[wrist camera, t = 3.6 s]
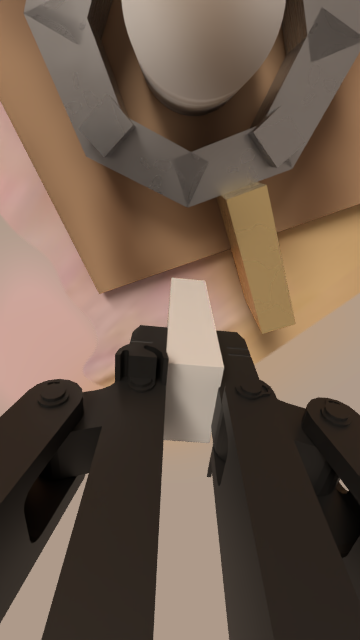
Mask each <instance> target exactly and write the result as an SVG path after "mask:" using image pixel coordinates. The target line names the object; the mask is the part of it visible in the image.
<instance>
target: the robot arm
mask: <svg viewBox="0 0 360 640" xmlns="http://www.w3.org/2000/svg"><path fill="white" fill-rule="evenodd" d="M211 432H212V437H213V447H212V453H211V457H210V462H209V467H208V474H207V477H211V474H212V476H213V485H214V495H215V504H216V514H217V525H218V534H219V543H220V553H221V562H222V573H223V583H224V592H225V602H226V612H227V621H228V631H229V640H360V415H359V414H358V413H357V412H355V411H354V410H353V409H352V408H350V407H349V406H347V405H345V404H343V403H341V402H339V401H337V400H333V399H329V398H316V399H312V400H311V401H310V402H309V403H308V404H307V407H306V409H305V408H301V407H298V406H295V405H291V404H288V403H285V402H283V401H280V400H278V399H277V398H276V395H275V393H274V391H273V390H272V389H271V387H270V386H269V385H267V384H266V383H265V382H263V381H261V380H259V377H258V374H257V372H256V369H255V366H254V364H253V361H252V358H251V357H250V353H249V350H248V347H247V345H246V342H245V340H244V339H243V338H242V337H241V336H240V335H239V334H238V333H237V332H226V331H216V328H215V324H214V319H213V315H212V310H211V305H210V301H209V296H208V292H207V287H206V282H205V281H204V280H193V279H182V278H171V289H170V300H169V311H168V322H167V327H155V326H143V325H140V326H139V327H138V328H137V329H136V330H134V331H133V333H132V337H131V341H130V344H128V345H125V346H123V347H122V348H120V349H119V350H118V351H117V353H116V354H115V383H114V384H112V385H111V386H108V387H106V388H103V389H99V390H95V391H88V392H82V388H81V387H80V386H79V385H78V384H77V383H75V382H72V381H70V380H63V379H56V380H48V381H45V382H42V383H40V384H37V385H36V386H34V387H33V388H31V389H30V390H28V391H27V392H26V393H25V394H24V395H23V396H22V397H21V398H20V399H19V400H18V401H17V402H16V403H15V404H14V405H13V406H12V407H10V408H9V409H8V410H7V411H6V412H5V413H4V414H3V415H2V416H1V417H0V623H1V621H2V619H3V617H4V616H5V614H6V612H7V610H8V609H9V607H10V605H11V603H12V602H13V600H14V598H15V597H16V595H17V593H18V591H19V590H20V588H21V586H22V584H23V583H24V581H25V579H26V578H27V576H28V574H29V572H30V571H31V569H32V567H33V566H34V564H35V562H36V560H37V559H38V557H39V555H40V553H41V552H42V550H43V548H44V547H45V545H46V543H47V541H48V540H49V538H50V536H51V534H52V533H53V531H54V529H55V527H56V526H57V524H58V522H59V521H60V519H61V517H62V515H63V514H64V512H65V510H66V508H67V507H68V505H69V503H70V501H71V500H72V498H73V496H74V495H75V493H76V491H77V490H78V488H79V486H80V484H81V483H82V481H83V479H84V477H85V474H87V473H89V475H88V478H87V482H86V485H85V489H84V492H83V496H82V499H81V503H80V506H79V510H78V513H77V517H76V520H75V524H74V528H73V531H72V534H71V538H70V541H69V545H68V548H67V552H66V555H65V559H64V563H63V566H62V569H61V573H60V576H59V580H58V583H57V587H56V591H55V594H54V597H53V601H52V604H51V608H50V612H49V615H48V619H47V622H46V626H45V630H44V633H43V636H42V640H153V630H154V611H155V591H156V571H157V554H158V533H159V515H160V496H161V476H162V475H161V474H162V457H163V440H172V441H187V442H202V443H209V442H210V437H211ZM340 479H341V480H342V481H343V483H344V484H345V486H346V487H347V488H348V489H349V491H347V490H345V489H344V488H343V487H342V485H341V484H340V483H339V480H340Z"/></svg>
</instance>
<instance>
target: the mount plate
mask: <svg viewBox="0 0 360 640" xmlns="http://www.w3.org/2000/svg"><path fill="white" fill-rule="evenodd" d="M25 3H26V0H0V101H1V103H2V105H3V107H4V109H5V111H6V113H7V115H8V116H9V118H10V120H11V122H12V124H13V126H14V128H15V130H16V132H17V134H18V136H19V138H20V140H21V142H22V144H23V146H24V148H25V150H26V152H27V154H28V156H29V158H30V159H31V161H32V163H33V165H34V167H35V169H36V171H37V173H38V175H39V177H40V179H41V181H42V183H43V185H44V187H45V189H46V191H47V193H48V195H49V197H50V199H51V201H52V202H53V204H54V206H55V208H56V210H57V212H58V214H59V216H60V218H61V220H62V222H63V224H64V226H65V228H66V230H67V232H68V234H69V236H70V238H71V240H72V242H73V244H74V245H75V247H76V249H77V251H78V253H79V255H80V257H81V259H82V261H83V263H84V265H85V267H86V269H87V271H88V273H89V275H90V277H91V279H92V281H93V283H94V285H95V287H96V289H97V290H98V292H99V294H101V293H104V292H107V291H110V290H112V289H115V288H118V287H121V286H124V285H127V284H130V283H133V282H136V281H138V280H141V279H144V278H147V277H150V276H153V275H156V274H159V273H162V272H164V271H167V270H170V269H173V268H176V267H179V266H182V265H185V264H188V263H190V262H193V261H196V260H199V259H202V258H205V257H208V256H211V255H214V254H216V253H219V252H222V251H225V250H228V249H231V247H230V244H229V240H228V236H227V233H226V229H225V226H224V222H223V219H222V215H221V211H220V208H219V204H218V201H217V197H215V198H213V199H210V200H207V201H205V202H202V203H199V204H196V205H194V206H191V207H188V208H187V207H185V206H183V205H181V204H179V203H177V202H175V201H173V200H171V199H169V198H167V197H165V196H163V195H161V194H159V193H157V192H155V191H153V190H151V189H149V188H148V187H146V186H144V185H142V184H140V183H138V182H136V181H134V180H132V179H130V178H128V177H126V176H124V175H122V174H120V173H118V172H116V171H114V170H112V169H110V168H108V167H106V166H104V165H102V164H100V163H98V162H96V161H94V160H92V159H90V158H88V157H86V155H85V153H84V151H83V148H82V146H81V144H80V142H79V139H78V137H77V135H76V132H75V130H74V128H73V125H72V123H71V121H70V119H69V116H68V114H67V112H66V109H65V107H64V105H63V103H62V100H61V98H60V96H59V93H58V91H57V89H56V87H55V84H54V82H53V80H52V77H51V75H50V73H49V70H48V68H47V66H46V64H45V61H44V59H43V57H42V54H41V52H40V50H39V48H38V45H37V43H36V41H35V38H34V36H33V34H32V32H31V29H30V27H29V25H28V22H27V20H26V18H25V16H24V8H25ZM285 4H286V0H113V1H112V5H111V8H110V12H109V15H108V19H107V22H106V26H105V30H104V33H103V37H102V40H101V41H102V44H103V47H104V50H105V53H106V55H107V58H108V61H109V64H110V66H111V69H112V72H113V75H114V77H115V80H116V83H117V86H118V89H119V91H120V94H121V97H122V100H123V102H124V105H125V108H126V111H127V113H128V116H129V118H130V119H131V120H133V121H135V122H137V123H139V124H141V125H142V126H144V127H146V128H148V129H150V130H152V131H153V132H155V133H157V134H159V135H161V136H163V137H164V138H166V139H168V140H170V141H172V142H174V143H175V144H177V145H179V146H181V147H183V148H185V149H186V150H188V151H190V152H192V151H195V150H197V149H200V148H202V147H205V146H207V145H210V144H212V143H215V142H217V141H220V140H222V139H225V138H227V137H230V136H232V135H235V134H237V133H240V132H242V131H245V130H247V129H250V127H251V125H252V123H253V121H254V119H255V117H256V115H257V113H258V111H259V109H260V107H261V105H262V103H263V101H264V99H265V97H266V95H267V93H268V91H269V89H270V87H271V85H272V83H273V81H274V79H275V76H276V74H277V72H278V70H279V68H280V66H281V64H282V62H283V60H284V58H285V56H286V49H285V43H284V36H283V29H282V20H283V15H284V10H285ZM258 182H259V183H262V184H265V185H267V189H268V194H269V198H270V203H271V208H272V213H273V218H274V223H275V227H276V232H280V231H283V230H286V229H289V228H292V227H294V226H297V225H300V224H303V223H306V222H309V221H312V220H315V219H318V218H320V217H323V216H326V215H329V214H332V213H335V212H338V211H341V210H344V209H346V208H349V207H352V206H355V205H358V204H360V52H359V54H358V56H357V58H356V59H355V61H354V63H353V64H352V66H351V68H350V70H349V71H348V73H347V75H346V77H345V78H344V80H343V82H342V84H341V85H340V87H339V89H338V90H337V92H336V94H335V96H334V97H333V99H332V101H331V103H330V104H329V106H328V108H327V110H326V111H325V113H324V115H323V116H322V118H321V120H320V122H319V123H318V125H317V127H316V129H315V130H314V132H313V134H312V136H311V137H310V139H309V141H308V142H307V144H306V146H305V148H304V149H303V151H302V153H301V155H300V156H299V158H298V160H297V162H296V163H295V165H294V167H293V168H292V169H290V170H288V171H285V172H282V173H280V174H277V175H274V176H272V177H269V178H266V179H264V180H261V181H258Z"/></svg>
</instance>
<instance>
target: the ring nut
mask: <svg viewBox="0 0 360 640" xmlns="http://www.w3.org/2000/svg"><path fill="white" fill-rule="evenodd" d="M112 1H113V0H26V3H25V8H24V16H25V18H26V20H27V22H28V25H29V27H30V29H31V32H32V34H33V36H34V38H35V41H36V43H37V45H38V48H39V50H40V52H41V54H42V57H43V59H44V61H45V64H46V66H47V68H48V70H49V73H50V75H51V77H52V80H53V82H54V84H55V87H56V89H57V91H58V93H59V96H60V98H61V100H62V103H63V105H64V107H65V109H66V112H67V114H68V116H69V119H70V121H71V123H72V125H73V128H74V130H75V132H76V135H77V137H78V139H79V142H80V144H81V146H82V148H83V151H84V153H85V155H86V157H88V158H90V159H92V160H94V161H96V162H98V163H100V164H102V165H104V166H106V167H108V168H110V169H112V170H114V171H116V172H118V173H120V174H122V175H124V176H126V177H128V178H130V179H132V180H134V181H136V182H138V183H140V184H142V185H144V186H146V187H148V188H149V189H151V190H153V191H155V192H157V193H159V194H161V195H163V196H165V197H167V198H169V199H171V200H173V201H175V202H177V203H179V204H181V205H183V206H185V207H187V208H188V207H191V206H194V205H196V204H199V203H202V202H205V201H207V200H210V199H213V198H215V197H217V201H218V204H219V208H220V211H221V215H222V219H223V222H224V226H225V229H226V233H227V236H228V240H229V244H230V247H231V251H232V254H233V258H234V261H235V265H236V268H237V272H238V276H239V279H240V283H241V286H242V290H243V293H244V297H245V300H246V302H247V305H248V307H249V309H250V311H251V313H252V315H253V317H254V319H255V321H256V323H257V325H258V327H259V329H260V331H261V333H262V334H264V333H268V332H271V331H274V330H277V329H281V328H284V327H287V326H291V325H294V324H295V319H294V314H293V310H292V305H291V300H290V295H289V290H288V285H287V281H286V276H285V271H284V266H283V261H282V256H281V252H280V247H279V242H278V237H277V232H276V227H275V223H274V218H273V213H272V208H271V203H270V198H269V194H268V189H267V185H265V184H262V183H259V182H258V181H261V180H264V179H266V178H269V177H272V176H274V175H277V174H280V173H282V172H285V171H288V170H290V169H292V168H293V167H294V165H295V163H296V162H297V160H298V158H299V156H300V155H301V153H302V151H303V149H304V148H305V146H306V144H307V142H308V141H309V139H310V137H311V136H312V134H313V132H314V130H315V129H316V127H317V125H318V123H319V122H320V120H321V118H322V116H323V115H324V113H325V111H326V110H327V108H328V106H329V104H330V103H331V101H332V99H333V97H334V96H335V94H336V92H337V90H338V89H339V87H340V85H341V84H342V82H343V80H344V78H345V77H346V75H347V73H348V71H349V70H350V68H351V66H352V64H353V63H354V61H355V59H356V58H357V56H358V54H359V52H360V0H286V4H285V10H284V15H283V20H282V29H283V36H284V43H285V49H286V56H285V58H284V60H283V62H282V64H281V66H280V68H279V70H278V72H277V74H276V76H275V79H274V81H273V83H272V85H271V87H270V89H269V91H268V93H267V95H266V97H265V99H264V101H263V103H262V105H261V107H260V109H259V111H258V113H257V115H256V117H255V119H254V121H253V123H252V125H251V127H250V129H247V130H245V131H242V132H240V133H237V134H235V135H232V136H230V137H227V138H225V139H222V140H220V141H217V142H215V143H212V144H210V145H207V146H205V147H202V148H200V149H197V150H195V151H192V152H190V151H188V150H186V149H185V148H183V147H181V146H179V145H177V144H175V143H174V142H172V141H170V140H168V139H166V138H164V137H163V136H161V135H159V134H157V133H155V132H153V131H152V130H150V129H148V128H146V127H144V126H142V125H141V124H139V123H137V122H135V121H133V120H131V119H130V118H129V116H128V113H127V111H126V108H125V105H124V102H123V100H122V97H121V94H120V91H119V89H118V86H117V83H116V80H115V77H114V75H113V72H112V69H111V66H110V64H109V61H108V58H107V55H106V53H105V50H104V47H103V44H102V41H101V40H102V37H103V33H104V30H105V26H106V22H107V19H108V15H109V12H110V8H111V5H112Z"/></svg>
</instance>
